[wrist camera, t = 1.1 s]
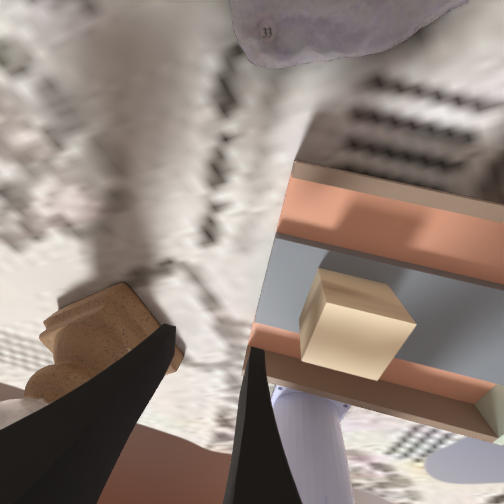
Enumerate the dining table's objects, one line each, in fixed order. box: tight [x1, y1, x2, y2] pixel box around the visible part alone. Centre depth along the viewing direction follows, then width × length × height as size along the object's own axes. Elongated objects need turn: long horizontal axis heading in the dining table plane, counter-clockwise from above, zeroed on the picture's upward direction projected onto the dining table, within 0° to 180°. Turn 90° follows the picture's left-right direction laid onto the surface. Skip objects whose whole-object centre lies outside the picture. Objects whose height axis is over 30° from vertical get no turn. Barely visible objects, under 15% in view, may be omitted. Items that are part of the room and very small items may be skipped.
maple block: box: [299, 268, 417, 381], centre depth 15 cm, size 5×5×4 cm
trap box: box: [241, 160, 504, 445], centre depth 17 cm, size 18×23×3 cm
